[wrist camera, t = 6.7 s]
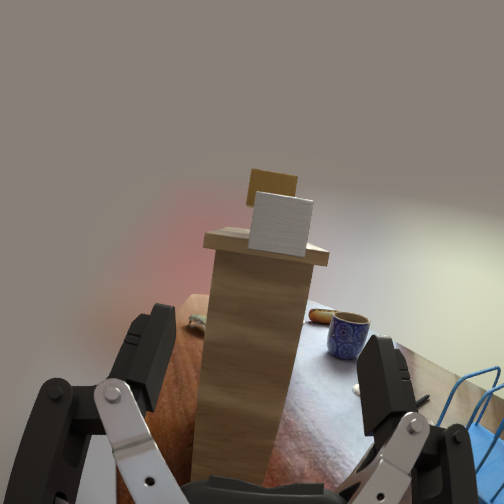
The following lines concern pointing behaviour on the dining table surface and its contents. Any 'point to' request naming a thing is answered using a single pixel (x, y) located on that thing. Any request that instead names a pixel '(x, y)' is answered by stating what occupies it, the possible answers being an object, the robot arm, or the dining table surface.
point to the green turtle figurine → (198, 320)
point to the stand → (247, 353)
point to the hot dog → (321, 315)
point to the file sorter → (485, 447)
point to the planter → (347, 334)
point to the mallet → (277, 214)
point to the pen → (422, 400)
